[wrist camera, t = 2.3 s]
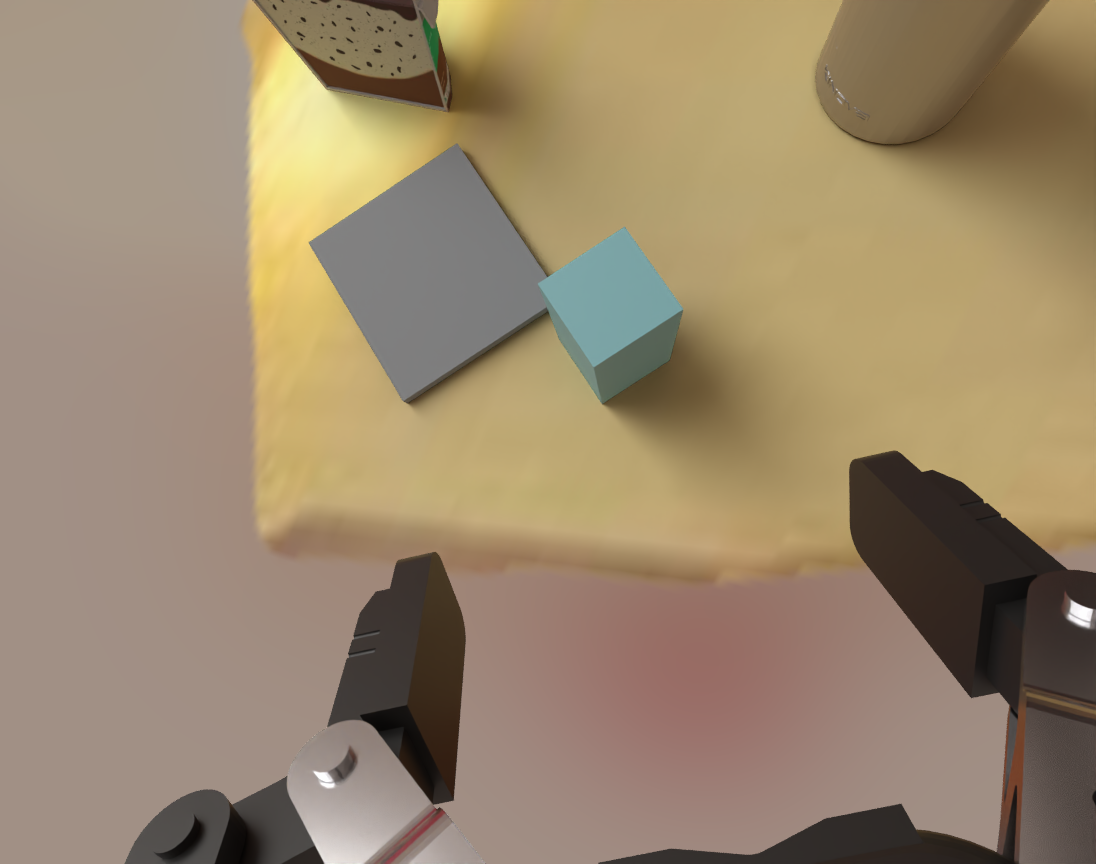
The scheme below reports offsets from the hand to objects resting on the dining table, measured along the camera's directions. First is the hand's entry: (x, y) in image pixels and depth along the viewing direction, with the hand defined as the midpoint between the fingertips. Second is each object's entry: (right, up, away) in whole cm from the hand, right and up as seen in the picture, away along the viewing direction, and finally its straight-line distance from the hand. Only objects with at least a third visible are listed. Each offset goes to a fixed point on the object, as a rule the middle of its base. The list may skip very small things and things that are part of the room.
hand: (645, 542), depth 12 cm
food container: (-12, +28, +33) cm, 45 cm away
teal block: (+2, +7, +28) cm, 29 cm away
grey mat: (-9, +13, +30) cm, 34 cm away
